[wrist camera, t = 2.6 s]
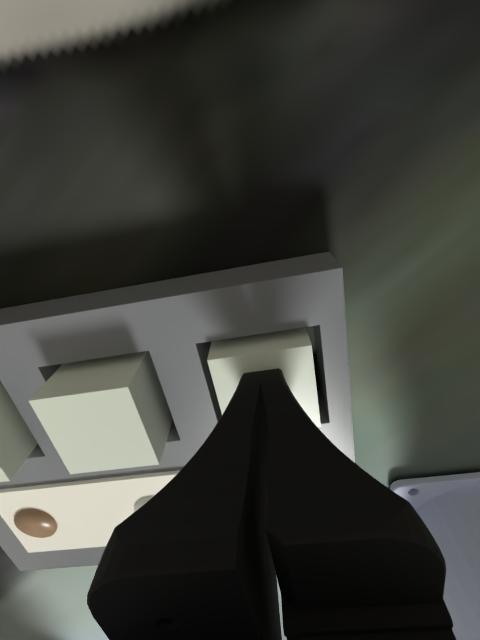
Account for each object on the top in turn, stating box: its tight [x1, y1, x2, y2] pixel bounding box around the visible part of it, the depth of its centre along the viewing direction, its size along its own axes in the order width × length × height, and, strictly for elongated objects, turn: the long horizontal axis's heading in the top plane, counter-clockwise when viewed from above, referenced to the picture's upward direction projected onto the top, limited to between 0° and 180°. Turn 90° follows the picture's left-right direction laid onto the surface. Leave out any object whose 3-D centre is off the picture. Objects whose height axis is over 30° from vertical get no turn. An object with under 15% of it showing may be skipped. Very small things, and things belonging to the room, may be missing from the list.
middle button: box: [29, 351, 173, 474], centre depth 13 cm, size 4×4×2 cm
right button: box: [207, 327, 321, 427], centre depth 13 cm, size 4×4×2 cm
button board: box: [0, 251, 355, 571], centre depth 15 cm, size 18×14×2 cm
